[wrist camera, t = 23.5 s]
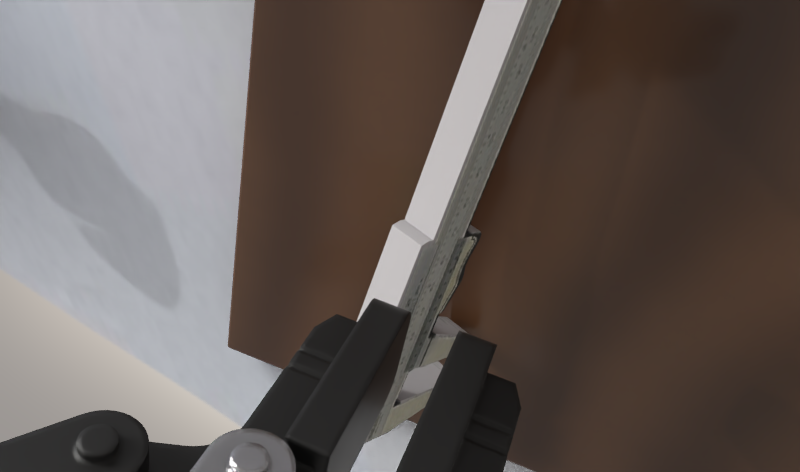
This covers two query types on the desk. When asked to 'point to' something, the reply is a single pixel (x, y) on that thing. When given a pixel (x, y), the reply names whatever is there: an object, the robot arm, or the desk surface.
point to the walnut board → (553, 215)
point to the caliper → (454, 195)
